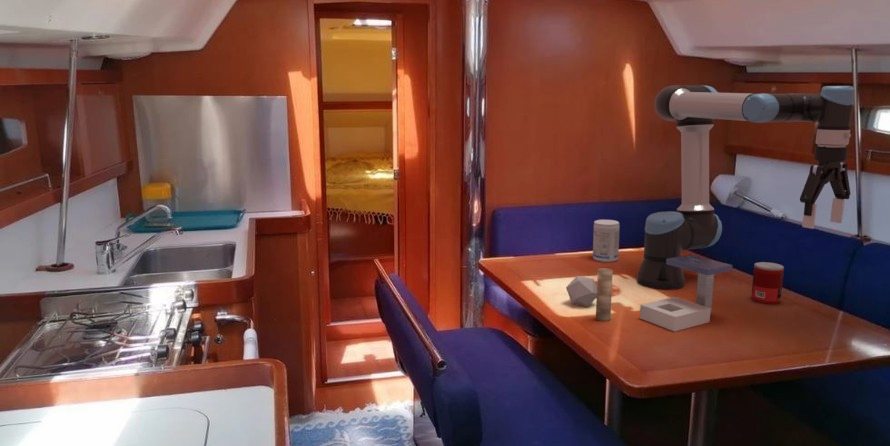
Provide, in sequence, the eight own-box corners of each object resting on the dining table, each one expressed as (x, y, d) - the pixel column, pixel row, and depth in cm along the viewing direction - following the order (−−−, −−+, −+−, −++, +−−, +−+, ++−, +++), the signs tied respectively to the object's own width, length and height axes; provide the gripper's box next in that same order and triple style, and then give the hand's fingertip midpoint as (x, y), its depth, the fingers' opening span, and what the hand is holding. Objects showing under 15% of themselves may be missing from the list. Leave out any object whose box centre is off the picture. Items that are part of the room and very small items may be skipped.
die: (603, 305, 191) (591, 274, 195) (601, 299, 183) (589, 267, 187) (575, 314, 193) (565, 283, 196) (572, 308, 184) (561, 276, 188)
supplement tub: (608, 255, 249) (610, 218, 246) (623, 261, 240) (625, 223, 237) (587, 257, 245) (588, 220, 242) (601, 263, 237) (603, 224, 234)
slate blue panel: (663, 310, 184) (666, 258, 181) (686, 305, 188) (690, 254, 186) (704, 325, 172) (708, 270, 169) (728, 319, 177) (732, 265, 174)
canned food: (784, 305, 188) (787, 269, 186) (754, 303, 190) (758, 267, 188) (776, 297, 196) (779, 262, 194) (748, 295, 197) (751, 261, 195)
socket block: (639, 318, 178) (640, 304, 177) (674, 309, 184) (675, 296, 184) (674, 331, 167) (675, 317, 167) (709, 322, 174) (710, 308, 174)
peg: (592, 317, 178) (594, 269, 175) (603, 315, 180) (605, 267, 177) (602, 322, 175) (605, 272, 172) (613, 319, 177) (615, 270, 174)
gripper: (819, 149, 157) (810, 232, 162) (871, 144, 170) (861, 222, 174) (790, 146, 164) (781, 227, 168) (842, 142, 176) (832, 217, 181)
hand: (822, 225), depth 171 cm, fingers open, 13 cm apart
